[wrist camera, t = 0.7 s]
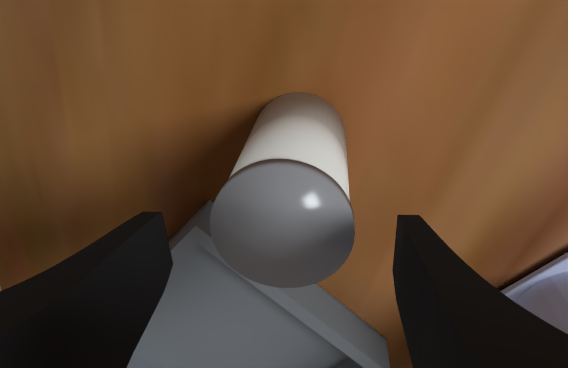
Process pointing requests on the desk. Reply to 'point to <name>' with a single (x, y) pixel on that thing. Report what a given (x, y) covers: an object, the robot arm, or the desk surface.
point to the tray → (247, 318)
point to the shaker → (287, 196)
